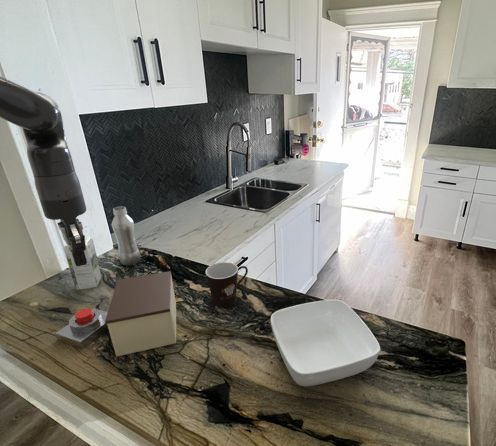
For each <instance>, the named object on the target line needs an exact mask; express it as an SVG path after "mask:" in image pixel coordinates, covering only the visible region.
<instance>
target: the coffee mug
mask: <svg viewBox="0 0 496 446" xmlns="http://www.w3.org/2000/svg"><path fill="white" fill-rule="evenodd" d="M241 269H245V272H244V274H243V276H242V277H241V279H240V280H239V281H238V278H239V277H238V275H239V271H240V270H241ZM248 273H249V269H248V267H247V266H246V265H241V266H239V267H238V265H237V264H235V263H233V262H229V261H220V262H216V263H213V264H211V265H209V266H208V267H207V268H206V269H205V276H206V280H207V283H208V288H209V292H210V295H211V299H212V303H213V305H214V306H216V307H217V308H229V307H230V306H233V305H234V304H235V303H236V301H237V291H238V290H237V289H238V286H239V285H240V284H241V283H242V282H243V281H244V280H245V278H246V276H247V275H248Z"/></svg>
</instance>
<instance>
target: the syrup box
mask: <svg viewBox="0 0 496 446" xmlns="http://www.w3.org/2000/svg"><path fill="white" fill-rule="evenodd" d="M85 246H86V250H84V253H85V256H86V260H87V264H85V265H82V266H76V264H75V262H74V259H73V256H72V252H71V251H70V249H69V248H68V247H69V246H68V245H67V244H66V243H65V245H64V246H63V250H64V254H65V257H66V260H67V264H68V267H69V271H70V275H71V277H72V282H73V284H74V288H75V291H79V290H86V289H87V290H88V289H92V288H98V286H99V284H100V283H101V280H102V277H103V275H102V271H101V267H100V263H99V260H98V256H97V255H98V254H97V251H96V248H95V243H94V239H93V237H92V236H85Z"/></svg>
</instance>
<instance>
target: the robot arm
mask: <svg viewBox="0 0 496 446" xmlns="http://www.w3.org/2000/svg"><path fill="white" fill-rule="evenodd" d="M62 116H63V115H62V112H61V109H60V107H59V105H58V104H57V102H56V101H55V100H54V99H53V98H52V97H50V96H49V95H47V94H46V93H43V92H39V91H34V90H31V89H29V88H27V87H25V86H23V85H20V84H18V83H16V82H14V81H11V80H10V79H7V78H5V77H3V76H1V75H0V118H1V119H3V120H4V121H6V122H8V123H11V124H13V125H16V126H17V127H20V128H22V131H23V134H24V138H25V141H26V144H27V145H26V156H27V159H28V163H29V166H30V169H31V172H32V175H33V179H34V186H35V190H36V193H37V196H38V199H39V203H40V205H41V209H42V212H43V215H44V218H46V219H48V220H53V221H58V222H57V224H56V225H57V227H58V229H59V230H60V232H61V235H62V239H63V240H64V242H65V245H66V244H67V245H68V246H69V247H68V248H69V249H70V251H71V252H72V256H73V259H74V262H75V264H76V266H82V265H85V264H87V260H86V256H85V253H84V250H86V246H85V237H86V235H84V232H83V230H84V226H83V223H82V221H80V219H79V218H78V217H79V216H82V215H84V214H85V213H86V212H87V205H86V201H85V198H84V194H83V190H82V187H81V183H80V180H79V177H78V175H77V172H76V169H75V166H74V162H73V158H72V154H71V151H70V150H69V146H68V143H67V137H66V132H65V126H64V121H63V117H62Z"/></svg>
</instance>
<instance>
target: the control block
mask: <svg viewBox="0 0 496 446" xmlns="http://www.w3.org/2000/svg"><path fill="white" fill-rule="evenodd" d="M91 309H92V310H93V314H94V318H93V319H92V320H91V321H89V322H86V323H82V324H78V323H77V321H76V318H75V314H74V315H73V316H72V317H70V319H69V320H68V324H67V325H65V326H64V327H62V328H60V330H58V331H56V332H54V335H55V337H56V340H57V341H58V342H60V343H63V344H65V345H69V346H72V347H75V348H78V349H81V350H83V349H85V348H86V347H87V346H89V345H90V344H91V343H92V342H94V341H95V340H96V339H98V338H99V337H100V336H101V335H103V334H104V333H105V332H107V331H109V329H108V325H107V324H106V323H105V320H106V316H107V313H108V311H105V310H102V309H98V308H96V307H92V308H91Z"/></svg>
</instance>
